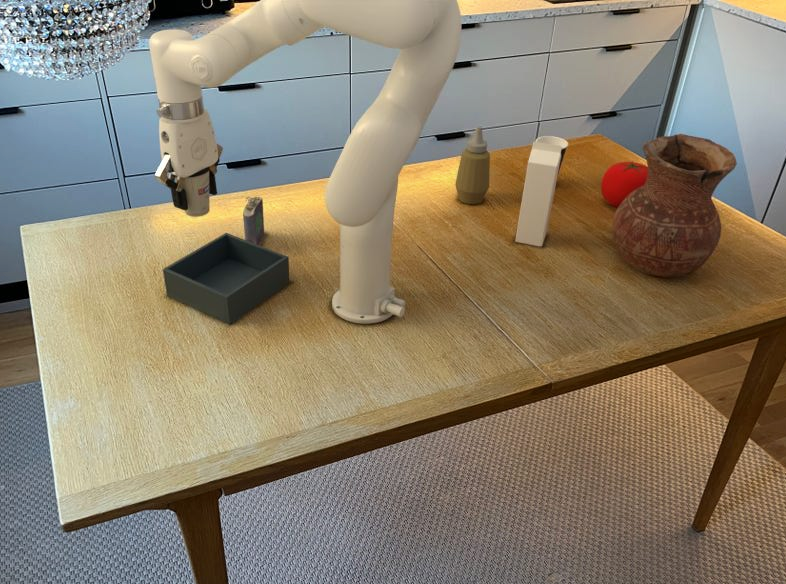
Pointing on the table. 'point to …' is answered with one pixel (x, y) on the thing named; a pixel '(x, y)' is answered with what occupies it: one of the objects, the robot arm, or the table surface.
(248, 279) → the tub
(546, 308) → the table surface
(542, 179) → the milk
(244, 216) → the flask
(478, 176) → the squeeze bottle
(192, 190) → the coffee cup
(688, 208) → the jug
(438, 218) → the table surface
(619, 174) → the tomato
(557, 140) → the dixie cup
